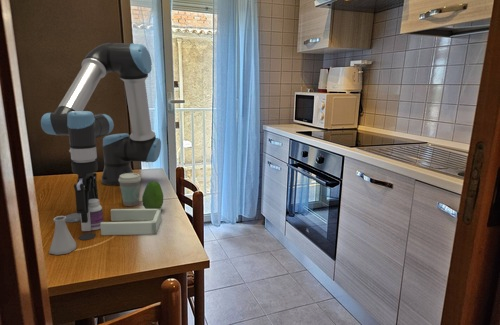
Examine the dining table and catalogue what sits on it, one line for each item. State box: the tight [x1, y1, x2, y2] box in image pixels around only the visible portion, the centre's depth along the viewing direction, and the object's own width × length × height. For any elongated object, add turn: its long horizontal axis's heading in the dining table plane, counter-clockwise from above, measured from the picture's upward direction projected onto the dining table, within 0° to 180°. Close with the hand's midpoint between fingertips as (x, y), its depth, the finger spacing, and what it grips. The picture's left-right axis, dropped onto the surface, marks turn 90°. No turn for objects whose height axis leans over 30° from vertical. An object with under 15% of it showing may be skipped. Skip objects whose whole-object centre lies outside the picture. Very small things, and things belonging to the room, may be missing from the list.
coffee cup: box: [118, 172, 142, 207], centre depth 133 cm, size 8×8×12 cm
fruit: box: [141, 180, 164, 209], centre depth 126 cm, size 8×8×12 cm
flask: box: [48, 215, 78, 256], centre depth 96 cm, size 7×7×10 cm
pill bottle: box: [88, 198, 104, 231], centre depth 111 cm, size 5×5×10 cm
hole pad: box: [78, 232, 97, 241], centre depth 105 cm, size 5×5×1 cm
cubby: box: [100, 208, 162, 236], centre depth 113 cm, size 12×17×4 cm
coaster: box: [65, 212, 81, 224], centre depth 119 cm, size 8×8×1 cm
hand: (89, 226), depth 112 cm, fingers open, 5 cm apart
